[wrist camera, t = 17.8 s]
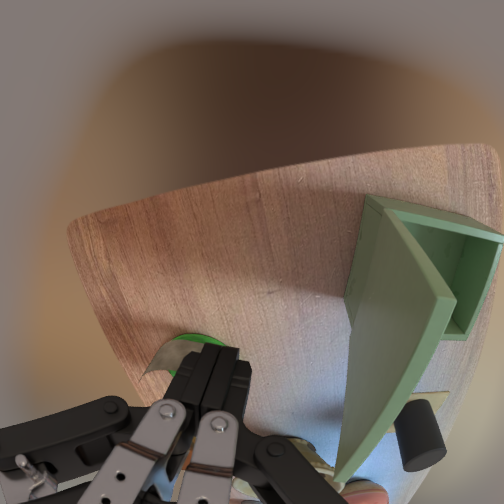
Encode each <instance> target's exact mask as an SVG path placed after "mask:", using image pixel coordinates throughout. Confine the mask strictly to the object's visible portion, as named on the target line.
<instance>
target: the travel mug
mask: <svg viewBox="0 0 504 504" xmlns="http://www.w3.org/2000/svg"><path fill="white" fill-rule="evenodd" d="M241 504H263V503H261V502H258V501H243V502H242V503H241Z"/></svg>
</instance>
